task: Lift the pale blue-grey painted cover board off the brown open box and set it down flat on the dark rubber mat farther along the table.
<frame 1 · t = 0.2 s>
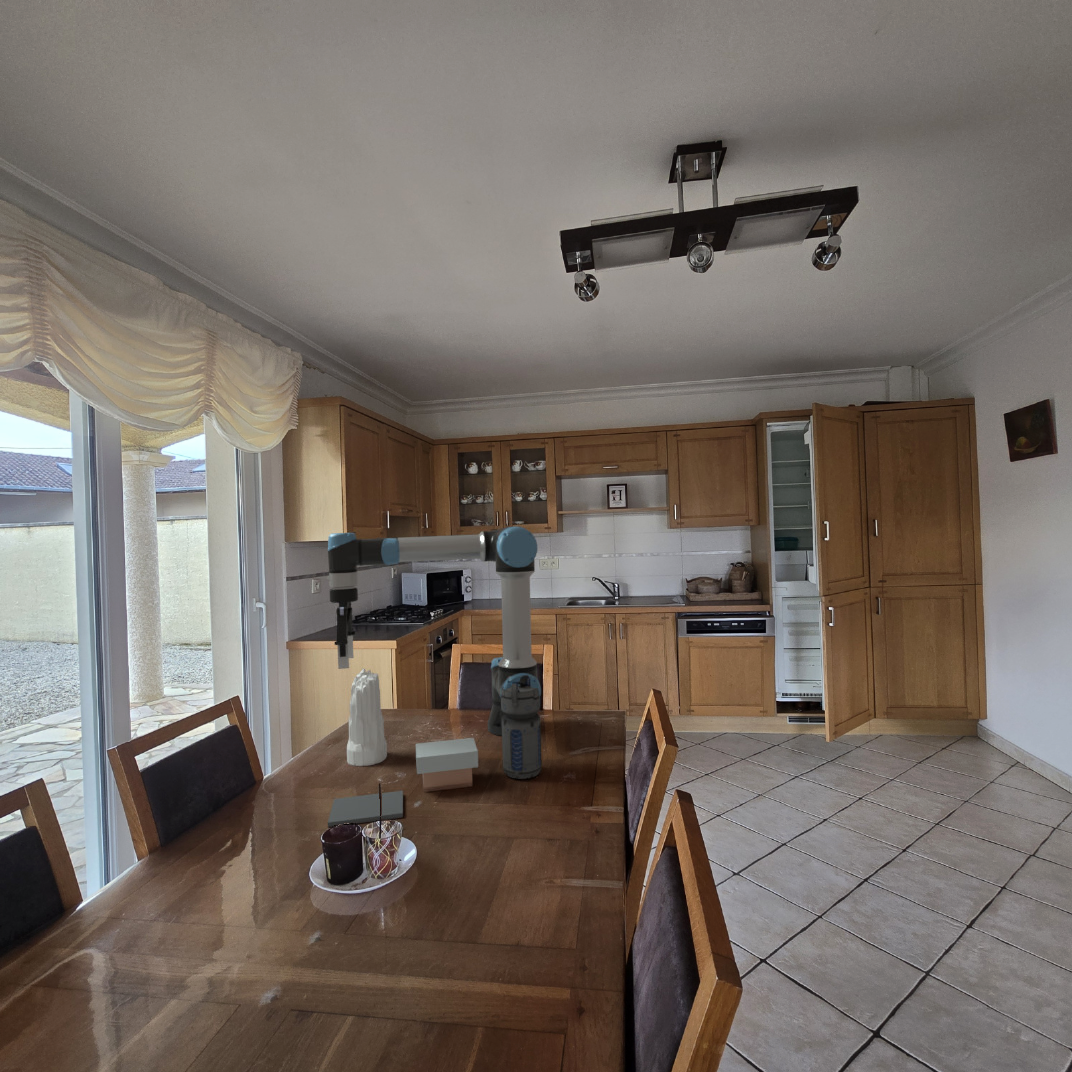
hand: (346, 663, 168), 28 cm above the table, fingers open, 13 cm apart
beverage bottle: (523, 772, 157), on the table
cover board: (446, 762, 152), point 5 cm above the table, touching brown open box
white ridged column: (367, 759, 170), on the table
brown open box: (447, 782, 152), on the table
mat: (367, 810, 138), on the table
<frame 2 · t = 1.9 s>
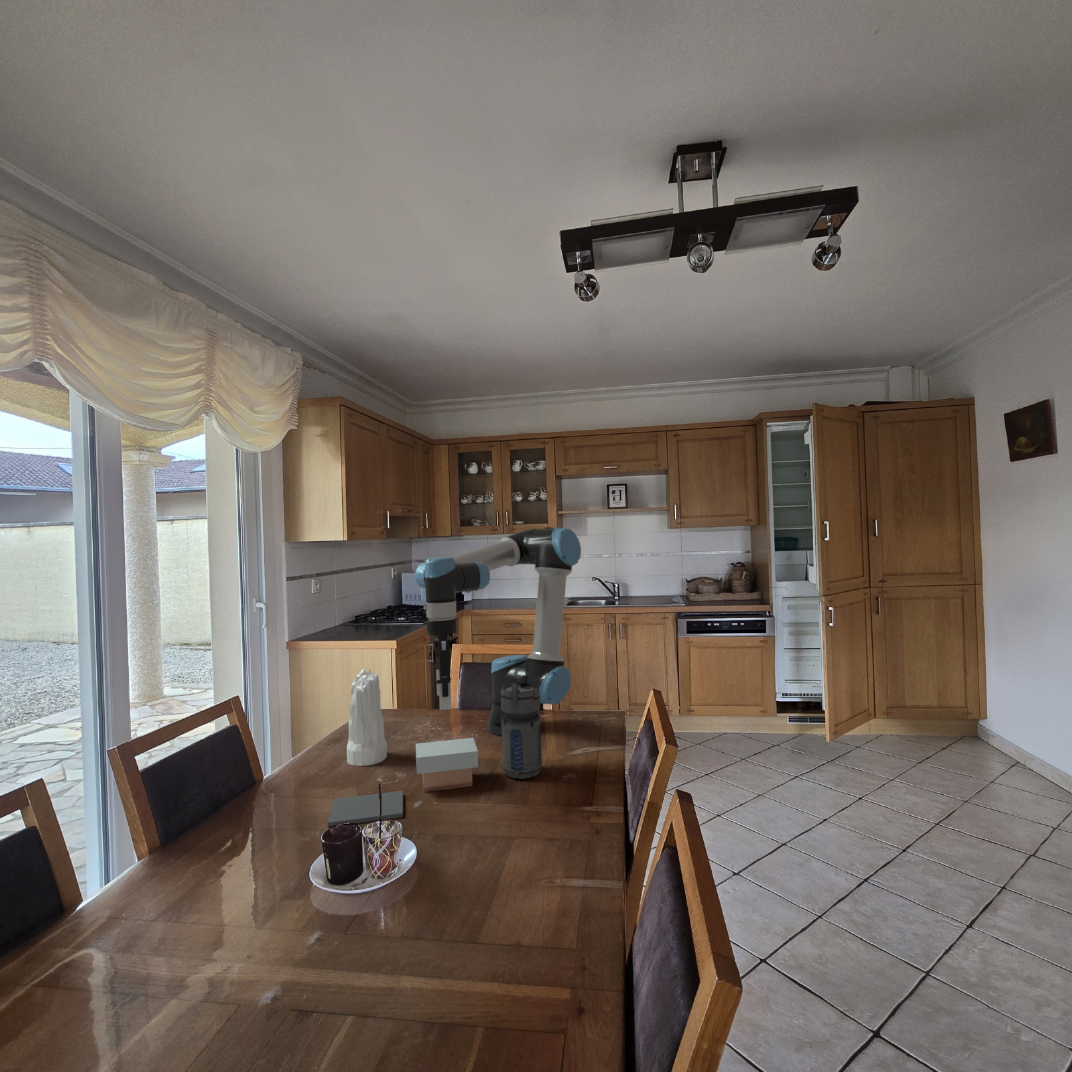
hand: (443, 701, 152), 21 cm above the table, fingers open, 13 cm apart
nothing on the table moved.
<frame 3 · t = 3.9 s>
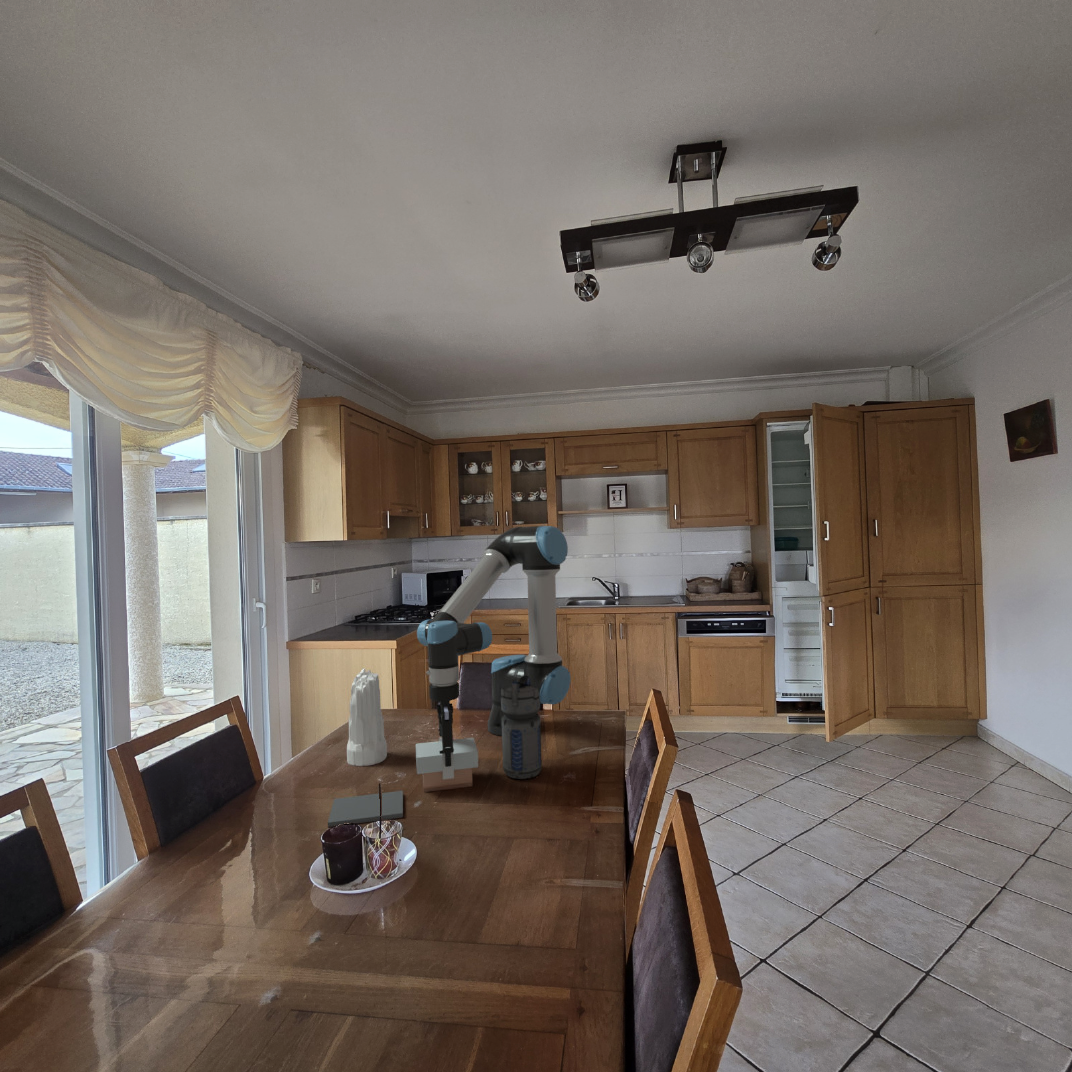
hand: (446, 769, 152), 3 cm above the table, fingers closed on cover board, 10 cm apart
cover board: (446, 762, 152), point 5 cm above the table, touching brown open box, gripper
everything else where it was.
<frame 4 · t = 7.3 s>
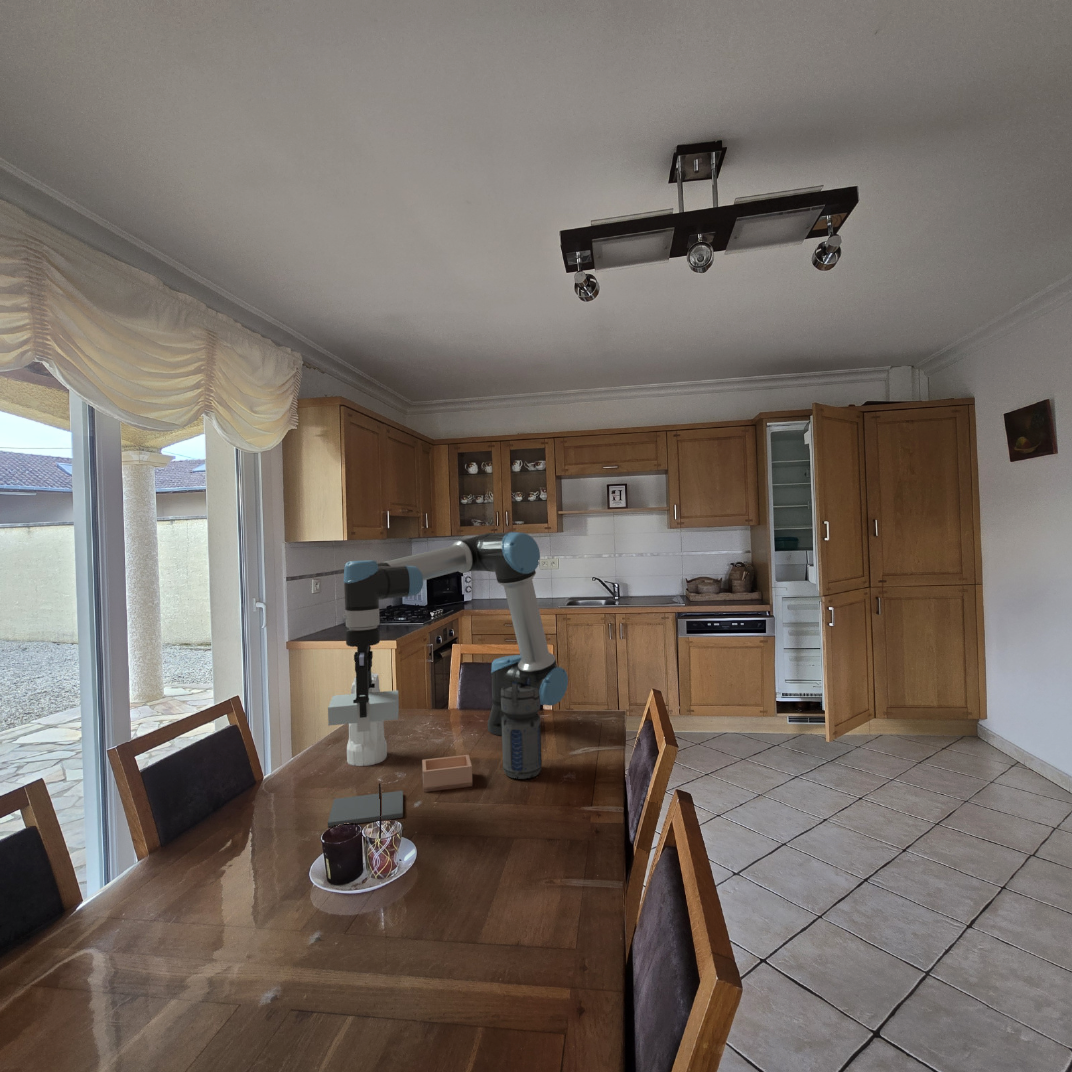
hand: (365, 723, 138), 20 cm above the table, fingers closed on cover board, 10 cm apart
cover board: (365, 715, 138), point 22 cm above the table, touching gripper
everything else where it was.
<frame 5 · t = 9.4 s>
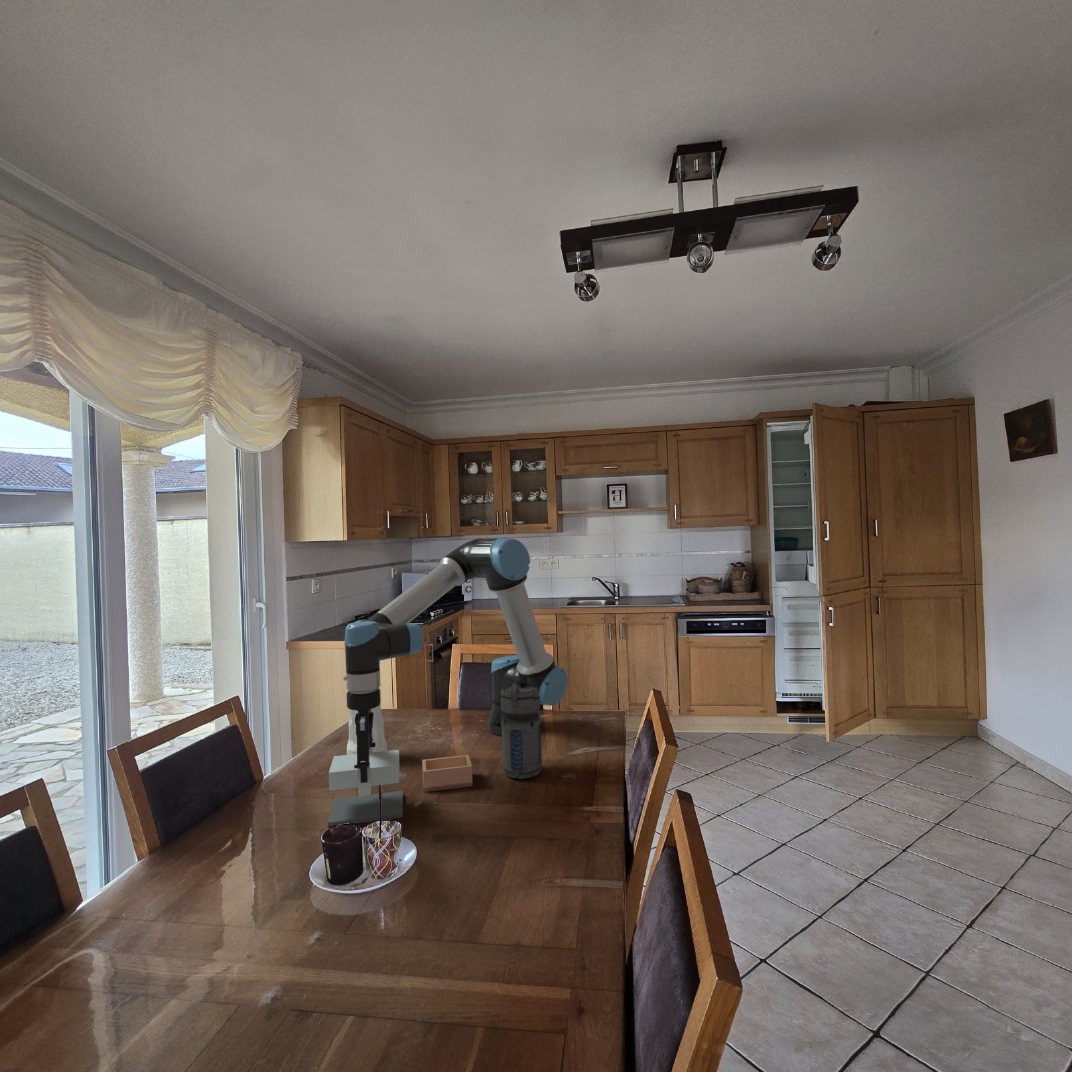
hand: (366, 785, 138), 6 cm above the table, fingers closed on cover board, 10 cm apart
cover board: (365, 777, 138), point 8 cm above the table, touching gripper
everything else where it was.
when the fingers open (2 cm above the table, at t = 11.0 s): cover board drops 3 cm, resting on mat.
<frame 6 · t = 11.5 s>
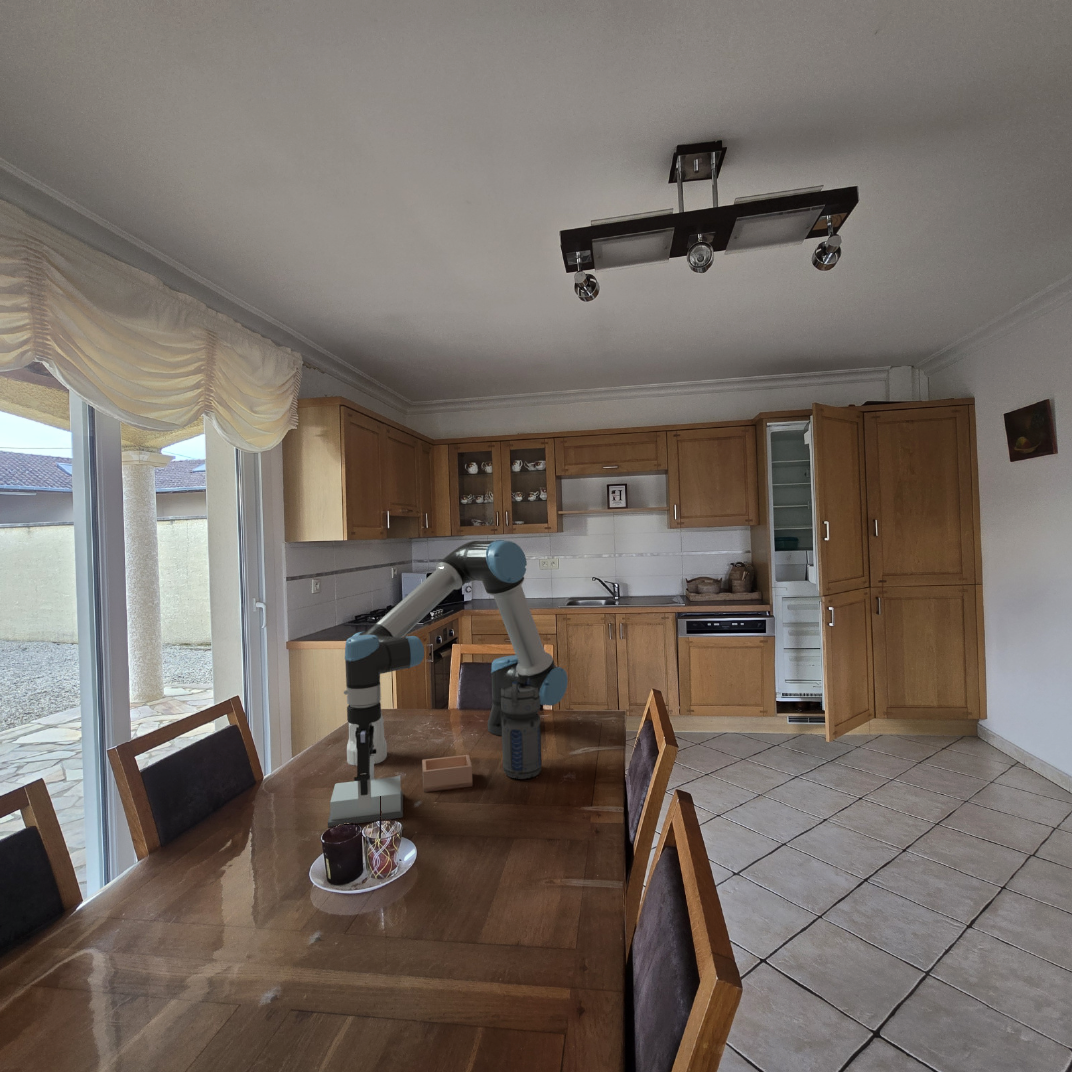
hand: (366, 794, 138), 4 cm above the table, fingers open, 13 cm apart
cover board: (367, 805, 138), point 1 cm above the table, touching mat
everything else where it was.
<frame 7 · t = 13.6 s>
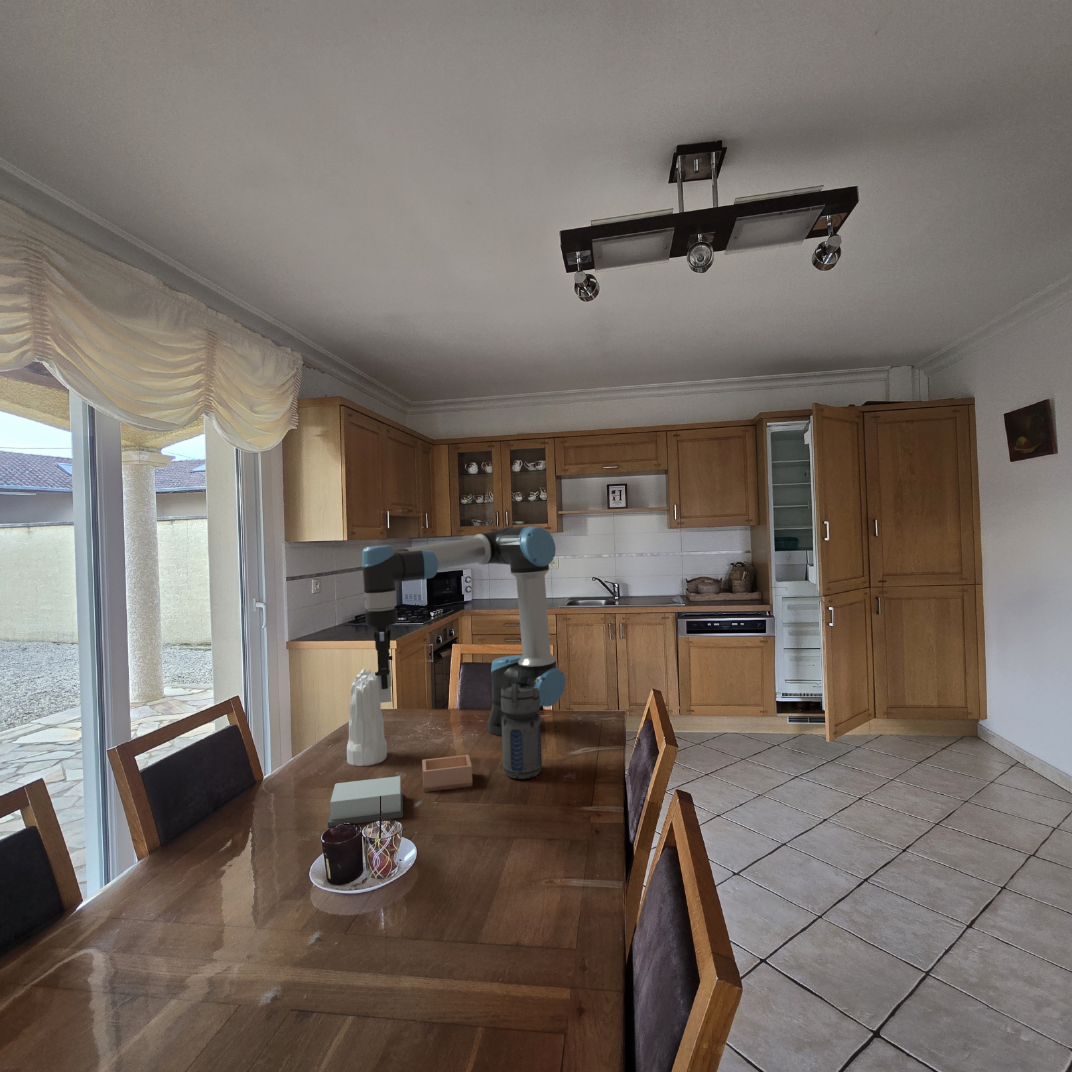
hand: (385, 694, 148), 24 cm above the table, fingers open, 13 cm apart
nothing on the table moved.
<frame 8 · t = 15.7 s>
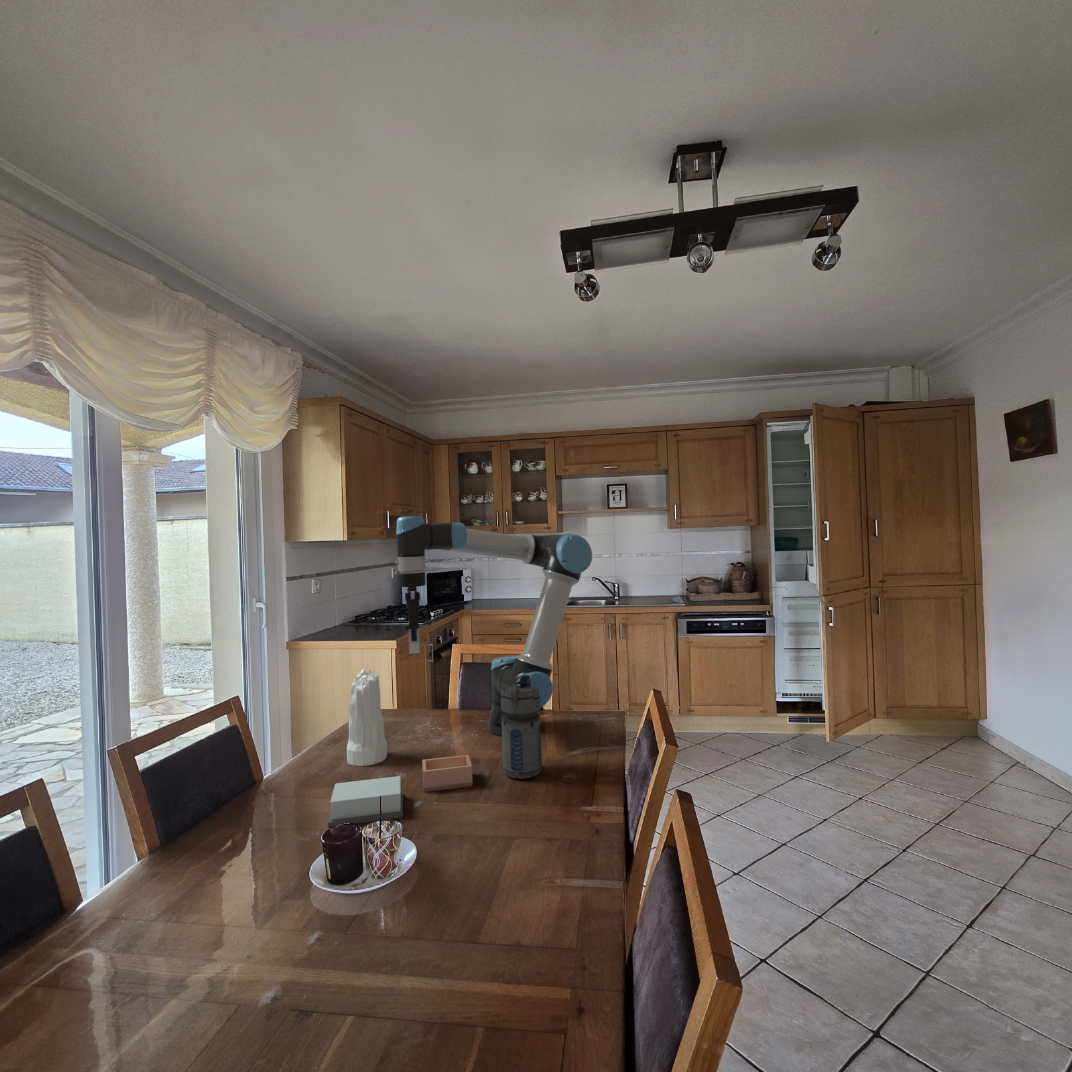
hand: (414, 648, 166), 32 cm above the table, fingers open, 13 cm apart
nothing on the table moved.
at the end: cover board inside the target area on the mat (0.0 cm from its centre), point 1.0 cm above the mat's base; cover board tilted 0°; cover board touching mat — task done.
